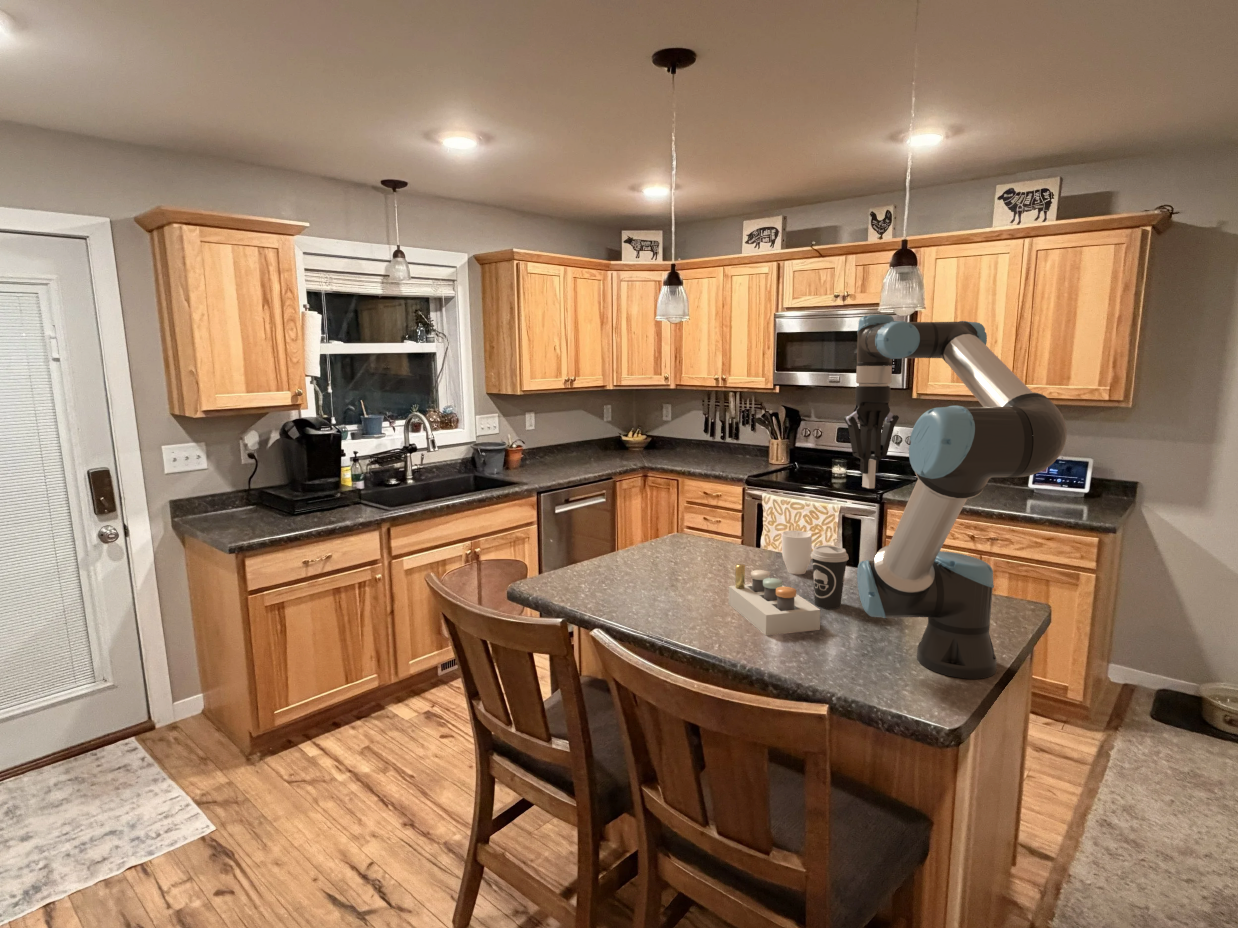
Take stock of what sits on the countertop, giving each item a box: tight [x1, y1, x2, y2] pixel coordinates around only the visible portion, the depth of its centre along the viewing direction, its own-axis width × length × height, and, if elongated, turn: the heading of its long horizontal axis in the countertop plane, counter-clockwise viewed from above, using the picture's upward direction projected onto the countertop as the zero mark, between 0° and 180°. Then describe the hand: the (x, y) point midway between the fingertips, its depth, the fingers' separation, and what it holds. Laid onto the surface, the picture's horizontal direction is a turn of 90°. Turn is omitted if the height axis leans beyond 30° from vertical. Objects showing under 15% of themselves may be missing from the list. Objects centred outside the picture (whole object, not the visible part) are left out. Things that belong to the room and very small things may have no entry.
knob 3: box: [776, 586, 797, 611], centre depth 166 cm, size 5×5×9 cm
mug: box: [781, 530, 813, 575], centre depth 210 cm, size 12×9×12 cm
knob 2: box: [763, 577, 784, 601], centre depth 173 cm, size 5×5×9 cm
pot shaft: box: [734, 563, 746, 589], centre depth 180 cm, size 2×2×6 cm
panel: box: [728, 583, 821, 637], centre depth 173 cm, size 22×14×5 cm, turn 14°
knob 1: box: [750, 569, 771, 592], centre depth 180 cm, size 5×5×9 cm
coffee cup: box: [810, 544, 849, 610], centre depth 181 cm, size 10×10×15 cm
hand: (868, 487), depth 160 cm, fingers closed
